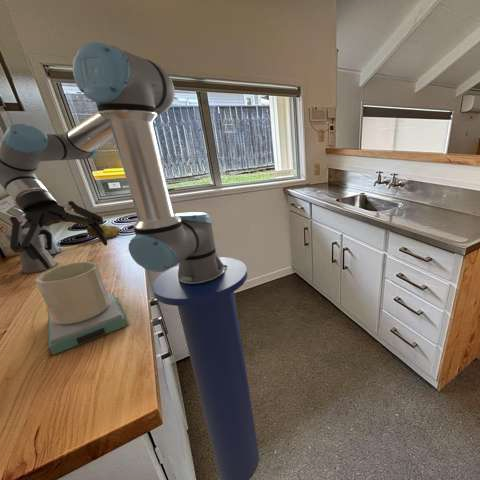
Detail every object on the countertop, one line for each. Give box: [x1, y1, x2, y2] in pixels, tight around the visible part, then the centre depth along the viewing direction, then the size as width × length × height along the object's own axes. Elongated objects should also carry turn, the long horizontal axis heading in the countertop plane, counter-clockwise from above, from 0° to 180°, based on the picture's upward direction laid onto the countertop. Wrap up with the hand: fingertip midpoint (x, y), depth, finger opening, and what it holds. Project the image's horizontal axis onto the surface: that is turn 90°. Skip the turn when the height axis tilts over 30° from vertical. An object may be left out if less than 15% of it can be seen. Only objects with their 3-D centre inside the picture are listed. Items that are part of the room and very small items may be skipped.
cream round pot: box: [35, 261, 110, 324], centre depth 65 cm, size 11×11×12 cm
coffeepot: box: [4, 224, 57, 274], centre depth 97 cm, size 15×9×18 cm, turn 94°
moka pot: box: [15, 214, 61, 256], centre depth 109 cm, size 10×15×20 cm, turn 33°
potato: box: [86, 224, 121, 239], centre depth 131 cm, size 8×13×8 cm, turn 133°
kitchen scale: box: [47, 290, 128, 356], centre depth 67 cm, size 14×19×3 cm
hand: (78, 254), depth 73 cm, fingers open, 13 cm apart
